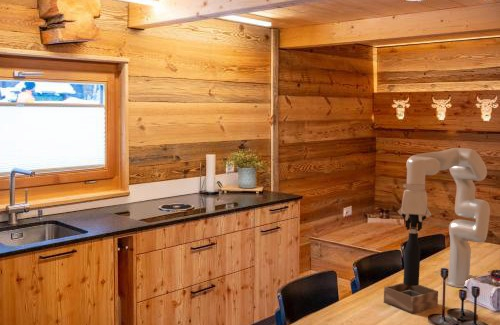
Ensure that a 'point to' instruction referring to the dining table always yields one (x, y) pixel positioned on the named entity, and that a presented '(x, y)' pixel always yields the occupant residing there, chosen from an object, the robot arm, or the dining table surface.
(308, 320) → the dining table surface
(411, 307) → the crate
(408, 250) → the wine bottle
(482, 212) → the robot arm
